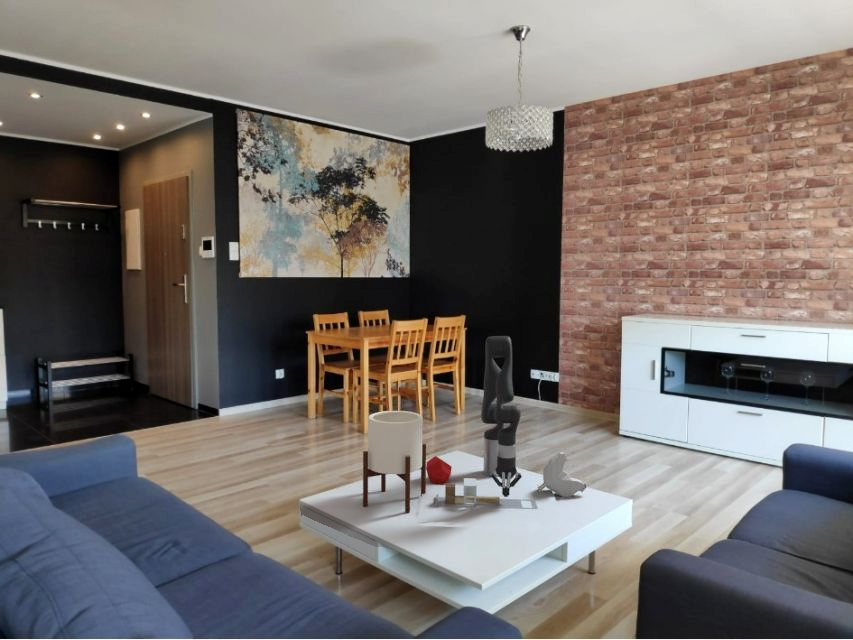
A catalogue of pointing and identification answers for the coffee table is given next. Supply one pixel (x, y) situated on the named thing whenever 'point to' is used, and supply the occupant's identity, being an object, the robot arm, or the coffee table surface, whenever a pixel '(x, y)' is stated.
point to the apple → (438, 471)
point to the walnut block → (449, 493)
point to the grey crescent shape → (560, 478)
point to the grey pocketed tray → (471, 490)
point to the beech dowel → (478, 499)
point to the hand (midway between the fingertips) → (505, 496)
